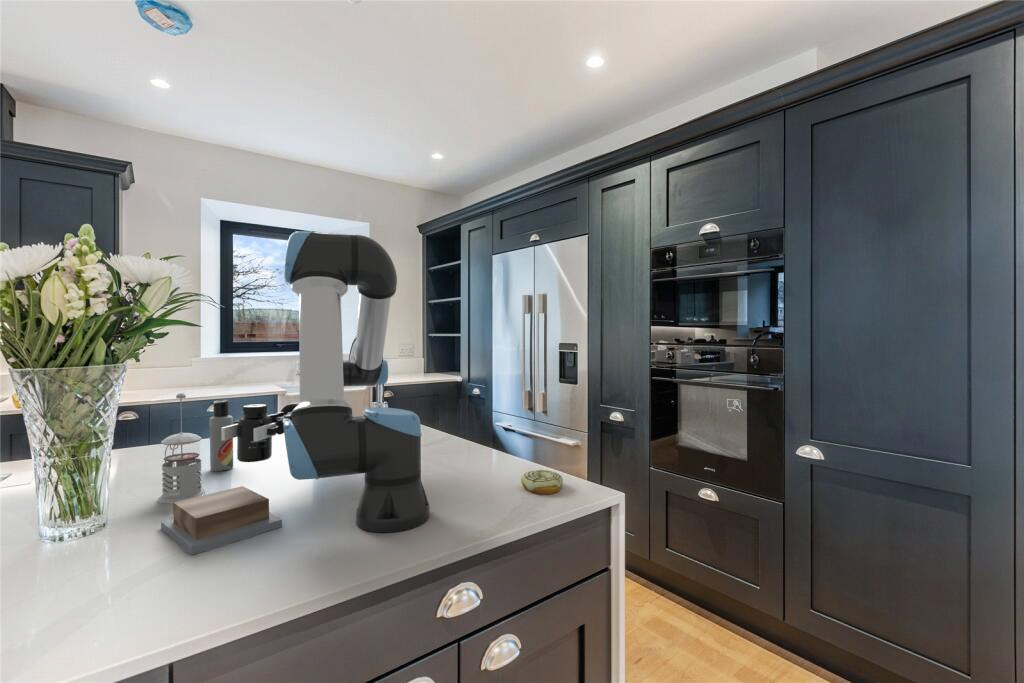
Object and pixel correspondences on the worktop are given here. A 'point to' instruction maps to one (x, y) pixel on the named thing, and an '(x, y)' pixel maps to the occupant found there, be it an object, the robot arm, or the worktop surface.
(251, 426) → the supplement bottle
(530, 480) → the decorated donut
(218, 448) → the lotion bottle
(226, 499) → the walnut pedestal
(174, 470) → the french press
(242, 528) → the plate
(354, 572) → the worktop surface
